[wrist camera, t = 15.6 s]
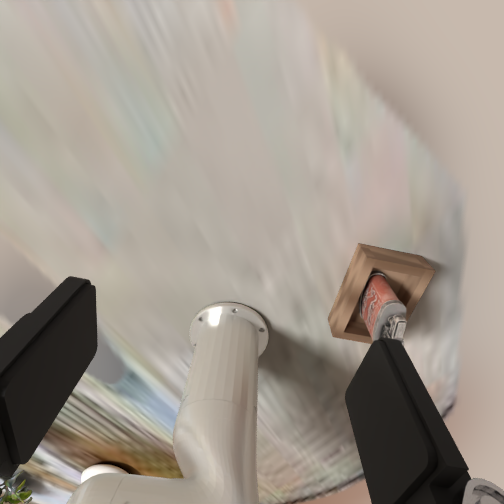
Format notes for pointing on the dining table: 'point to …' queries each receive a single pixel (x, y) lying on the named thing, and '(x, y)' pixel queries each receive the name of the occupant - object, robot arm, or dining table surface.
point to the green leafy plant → (15, 492)
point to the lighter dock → (398, 277)
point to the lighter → (382, 308)
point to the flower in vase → (100, 470)
